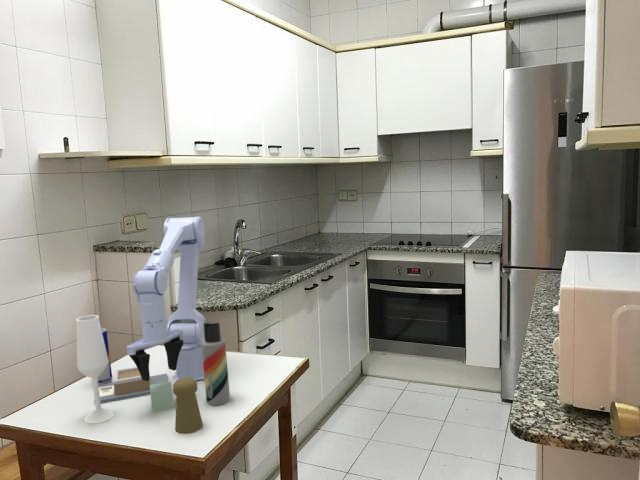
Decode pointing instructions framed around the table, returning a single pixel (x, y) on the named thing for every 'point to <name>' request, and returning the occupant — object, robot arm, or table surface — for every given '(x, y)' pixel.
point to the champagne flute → (92, 360)
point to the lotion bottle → (215, 365)
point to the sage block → (161, 396)
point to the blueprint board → (137, 394)
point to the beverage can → (107, 373)
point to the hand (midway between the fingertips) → (159, 374)
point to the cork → (186, 406)
